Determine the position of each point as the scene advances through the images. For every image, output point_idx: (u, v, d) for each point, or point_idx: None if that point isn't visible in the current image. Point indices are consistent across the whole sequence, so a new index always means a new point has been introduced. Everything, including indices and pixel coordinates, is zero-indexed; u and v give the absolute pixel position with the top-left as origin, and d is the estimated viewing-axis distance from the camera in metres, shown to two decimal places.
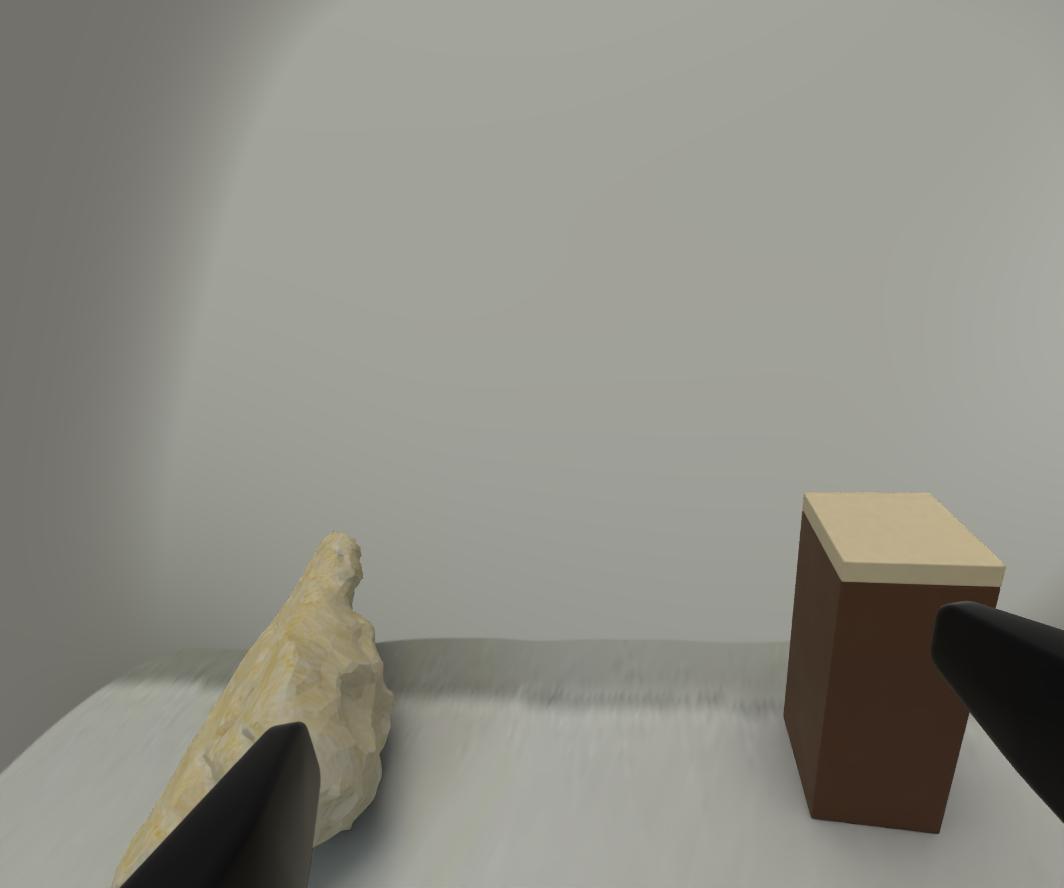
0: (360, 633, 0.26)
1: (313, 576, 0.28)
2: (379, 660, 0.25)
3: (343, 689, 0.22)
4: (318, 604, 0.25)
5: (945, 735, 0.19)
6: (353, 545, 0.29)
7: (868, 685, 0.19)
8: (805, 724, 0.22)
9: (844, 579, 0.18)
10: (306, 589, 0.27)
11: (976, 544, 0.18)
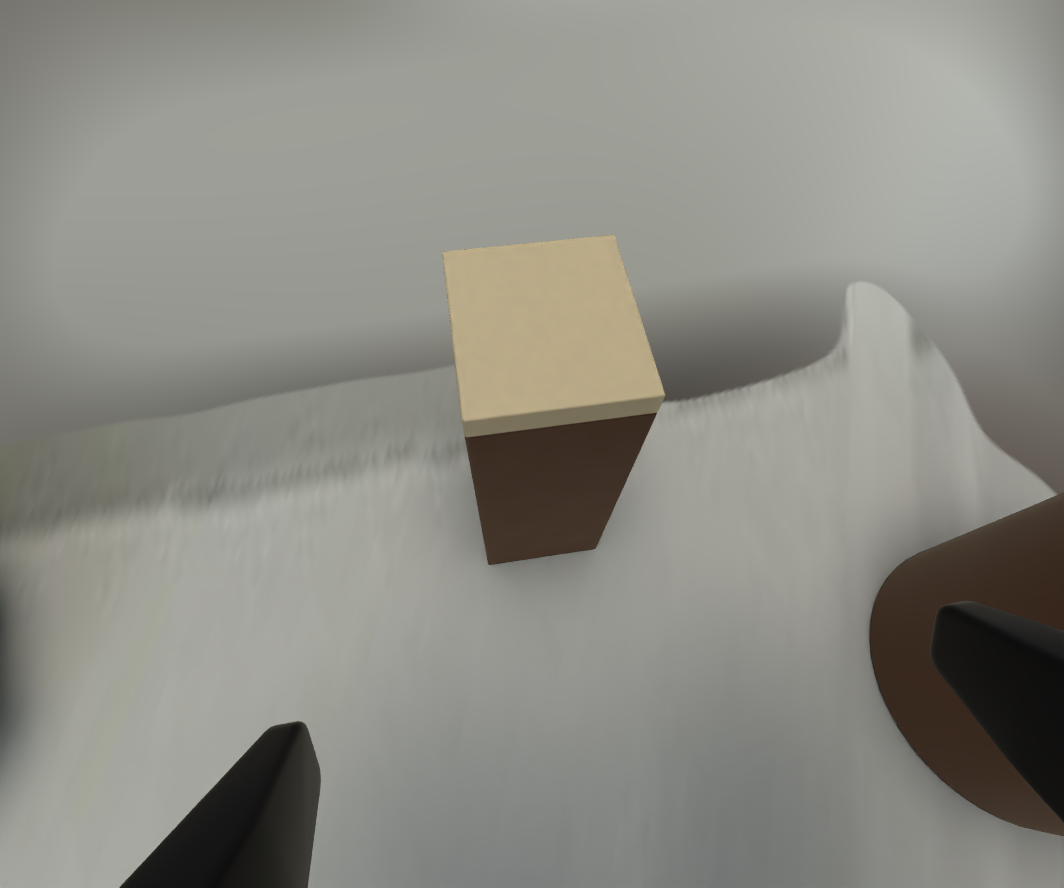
0: None
1: None
2: None
3: None
4: None
5: (598, 509, 0.18)
6: None
7: (520, 498, 0.16)
8: None
9: (470, 432, 0.12)
10: None
11: (642, 352, 0.12)
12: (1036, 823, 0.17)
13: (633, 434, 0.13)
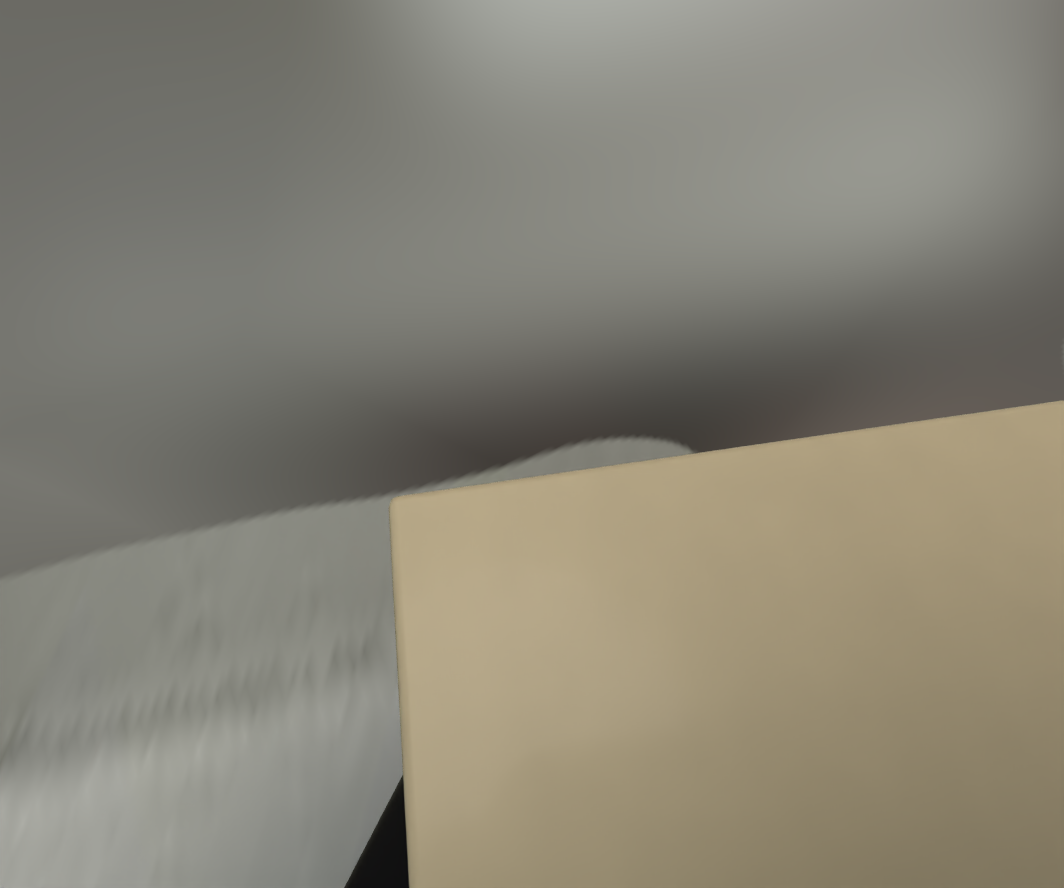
0: None
1: None
2: None
3: None
4: None
5: None
6: None
7: None
8: None
9: None
10: None
11: None
12: None
13: None
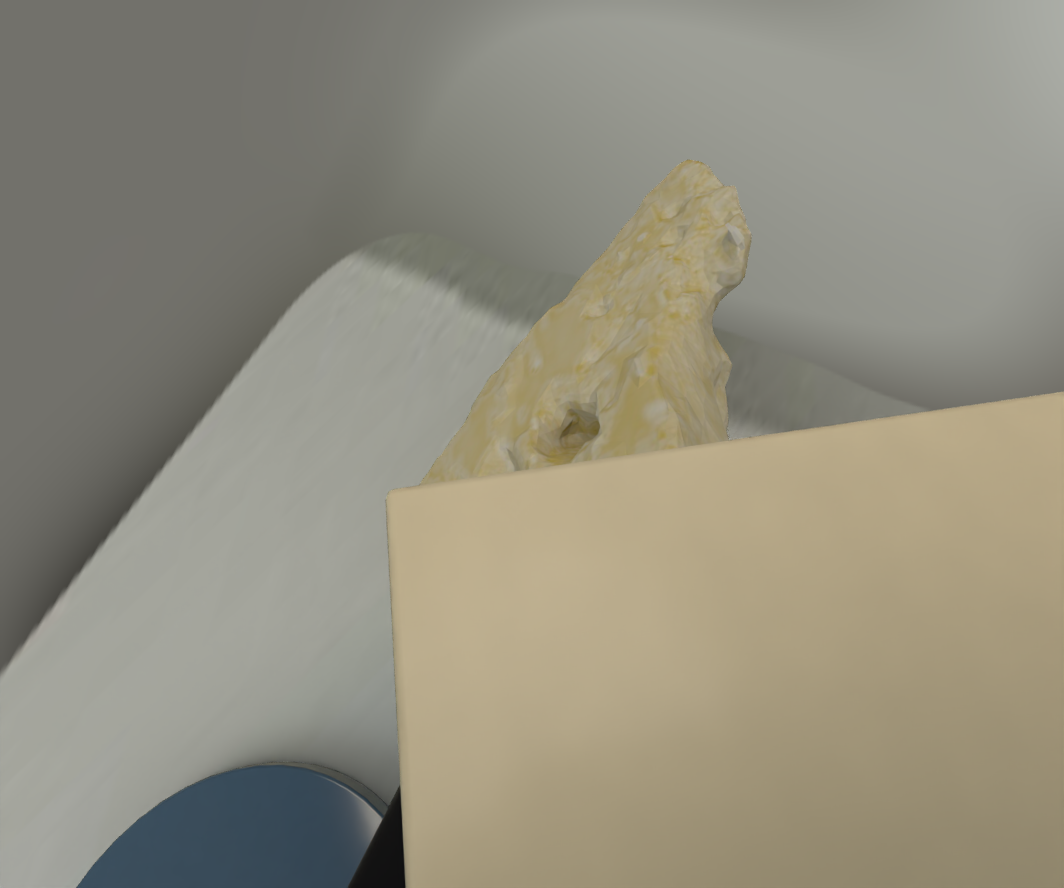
0: (718, 377, 0.18)
1: (675, 252, 0.18)
2: None
3: None
4: (688, 323, 0.16)
5: None
6: (745, 221, 0.18)
7: None
8: None
9: None
10: (666, 277, 0.17)
11: None
12: None
13: None
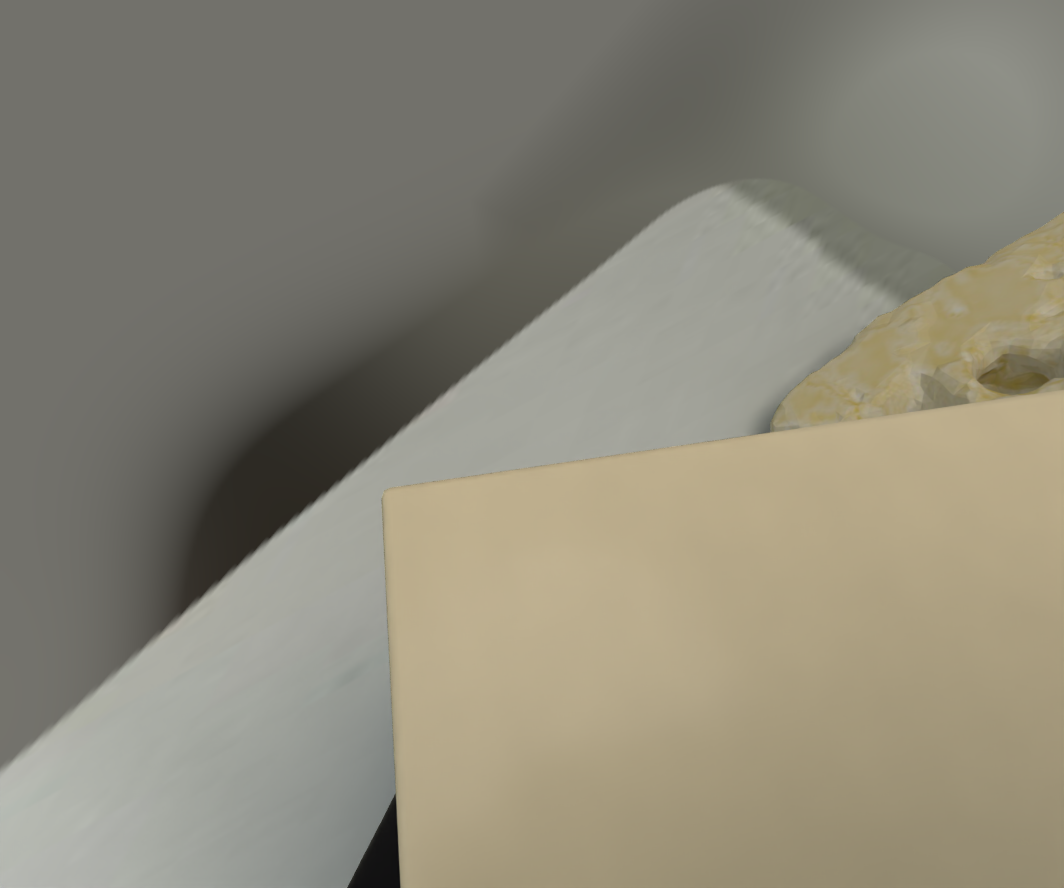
0: None
1: None
2: None
3: None
4: None
5: None
6: None
7: None
8: None
9: None
10: None
11: None
12: None
13: None
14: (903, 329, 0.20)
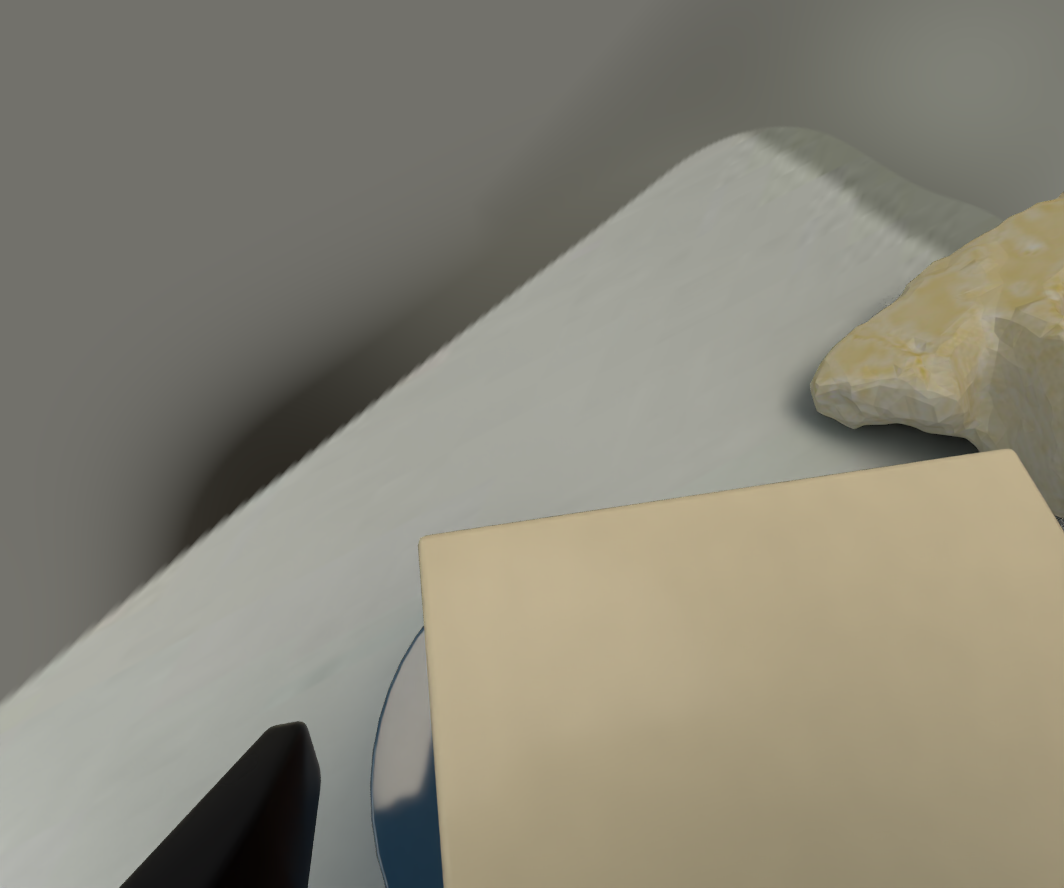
0: None
1: None
2: None
3: None
4: None
5: None
6: None
7: None
8: None
9: None
10: None
11: None
12: None
13: None
14: (967, 272, 0.18)
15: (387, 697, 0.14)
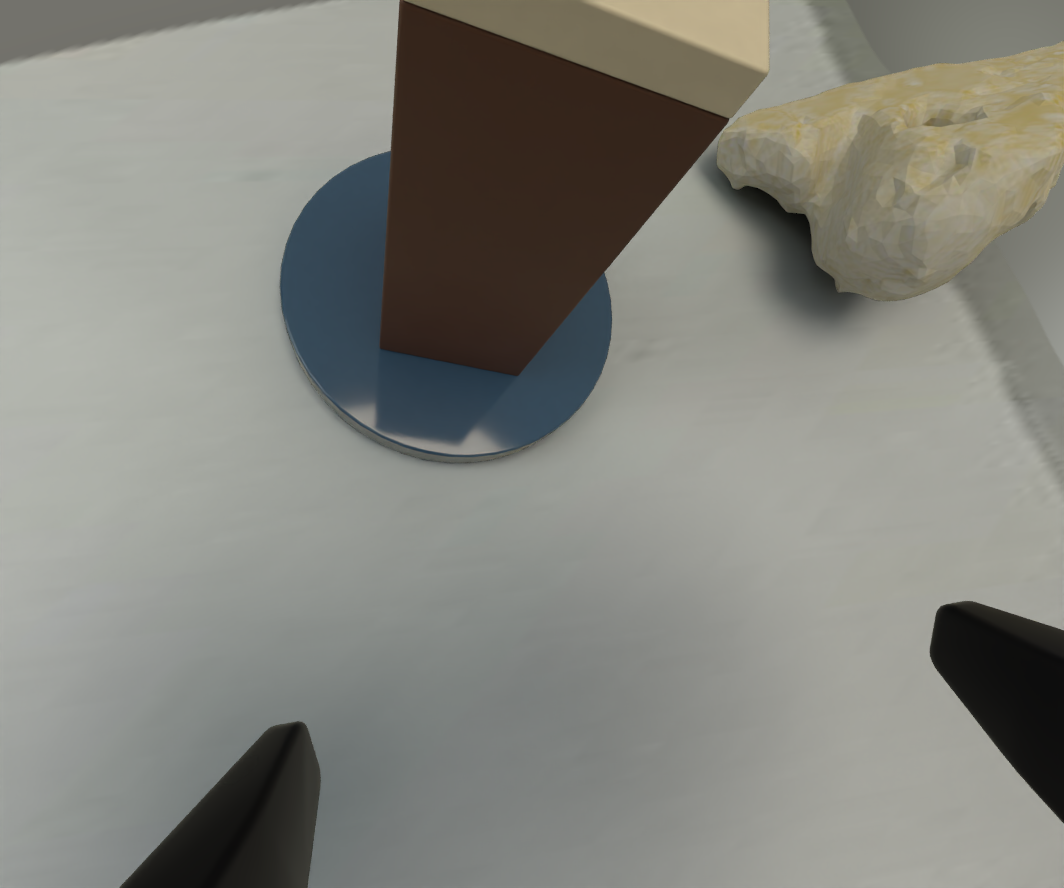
0: None
1: None
2: None
3: None
4: None
5: (548, 307, 0.13)
6: None
7: (453, 233, 0.11)
8: None
9: None
10: None
11: None
12: None
13: (670, 159, 0.08)
14: (864, 88, 0.22)
15: (315, 195, 0.17)
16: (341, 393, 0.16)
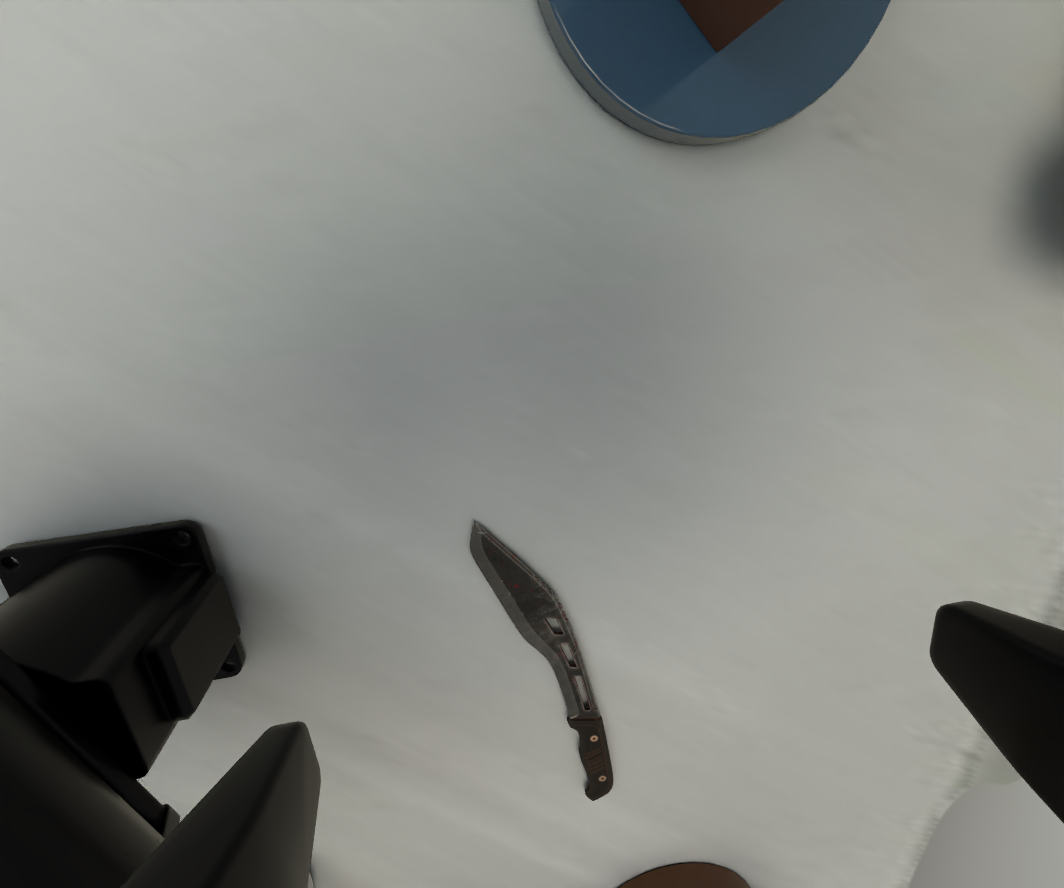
0: None
1: None
2: None
3: None
4: None
5: None
6: None
7: None
8: None
9: None
10: None
11: None
12: None
13: None
14: None
15: None
16: None
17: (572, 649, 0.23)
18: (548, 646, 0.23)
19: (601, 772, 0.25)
